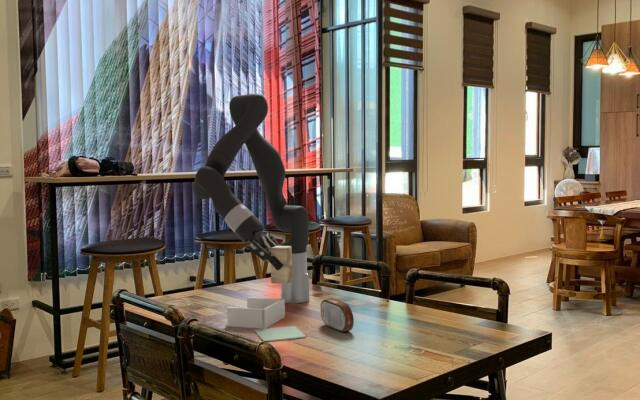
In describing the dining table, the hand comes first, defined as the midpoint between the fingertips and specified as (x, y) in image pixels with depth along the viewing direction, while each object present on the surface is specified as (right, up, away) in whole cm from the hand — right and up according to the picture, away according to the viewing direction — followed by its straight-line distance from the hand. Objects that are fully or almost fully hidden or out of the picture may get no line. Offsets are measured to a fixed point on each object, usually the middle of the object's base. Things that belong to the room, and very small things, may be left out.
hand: (284, 266), depth 188 cm
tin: (+15, -19, +7) cm, 25 cm away
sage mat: (-1, -19, +2) cm, 20 cm away
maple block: (-1, -4, 0) cm, 5 cm away
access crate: (-10, -19, +18) cm, 28 cm away
